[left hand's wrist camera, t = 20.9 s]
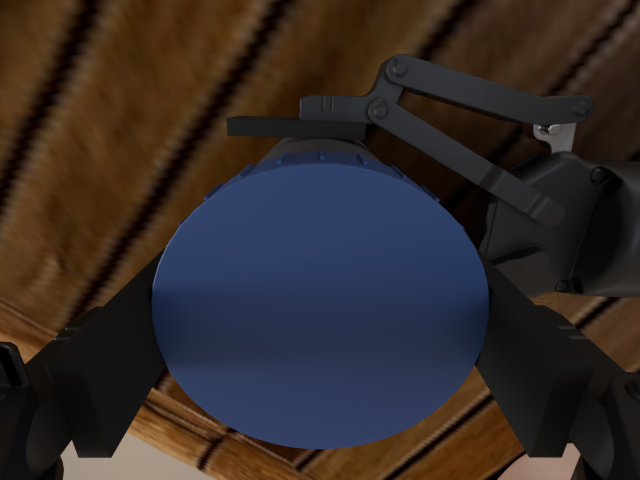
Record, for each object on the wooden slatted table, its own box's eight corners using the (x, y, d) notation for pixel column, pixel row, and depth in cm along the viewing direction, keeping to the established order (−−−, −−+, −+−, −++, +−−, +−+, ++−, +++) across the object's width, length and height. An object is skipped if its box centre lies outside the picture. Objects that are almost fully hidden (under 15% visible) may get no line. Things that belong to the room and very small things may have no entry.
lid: (429, 100, 10) (457, 101, 8) (484, 363, 13) (513, 410, 11) (122, 208, 11) (78, 232, 9) (245, 424, 14) (234, 476, 12)
